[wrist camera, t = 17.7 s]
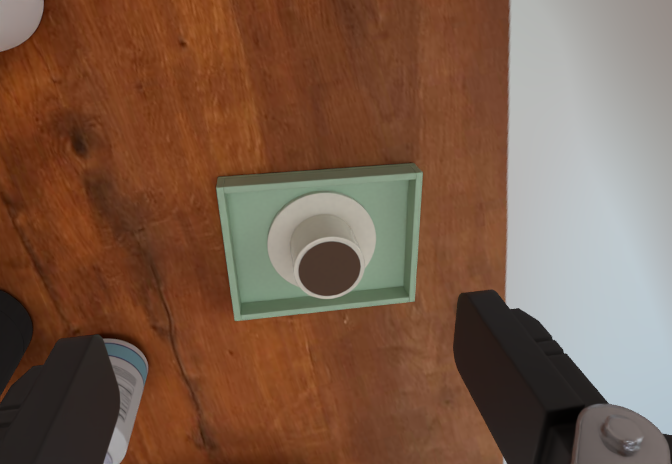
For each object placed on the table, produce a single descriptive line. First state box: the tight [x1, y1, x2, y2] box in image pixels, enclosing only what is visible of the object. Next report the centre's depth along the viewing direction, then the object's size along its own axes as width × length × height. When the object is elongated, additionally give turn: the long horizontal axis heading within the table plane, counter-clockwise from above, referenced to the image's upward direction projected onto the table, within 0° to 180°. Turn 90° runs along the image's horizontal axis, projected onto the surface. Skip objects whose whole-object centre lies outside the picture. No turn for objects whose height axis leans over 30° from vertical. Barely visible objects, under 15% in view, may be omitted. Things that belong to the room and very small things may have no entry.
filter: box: [267, 191, 376, 299], centre depth 42 cm, size 10×10×5 cm
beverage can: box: [103, 339, 148, 464], centre depth 42 cm, size 7×7×12 cm
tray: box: [216, 163, 423, 321], centre depth 44 cm, size 17×13×3 cm
